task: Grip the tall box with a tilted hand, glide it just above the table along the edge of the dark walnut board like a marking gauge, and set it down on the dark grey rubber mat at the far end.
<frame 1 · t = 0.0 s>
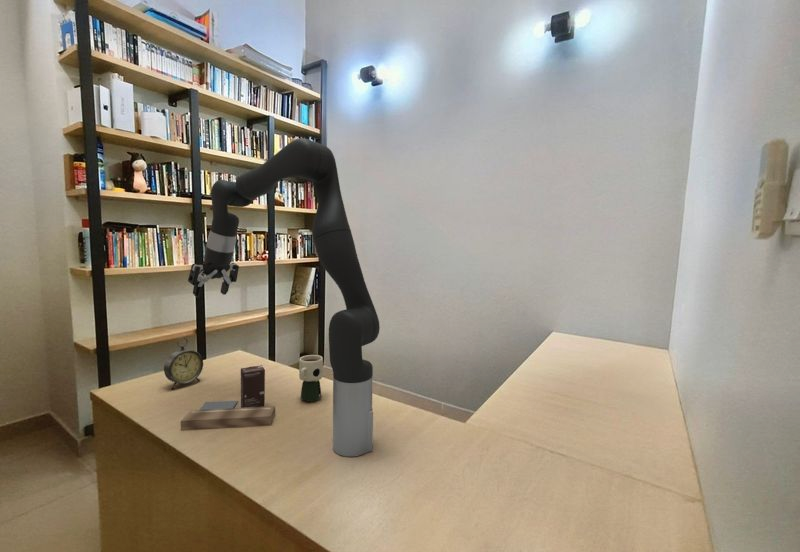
hand: (210, 294, 112), 31 cm above the worktop, tool tilted 20°, fingers open, 8 cm apart
box: (252, 409, 104), on the worktop
character mug: (311, 399, 111), on the worktop
alarm clock: (183, 385, 120), on the worktop
walnut board: (230, 422, 96), on the worktop
grey mat: (216, 409, 103), on the worktop
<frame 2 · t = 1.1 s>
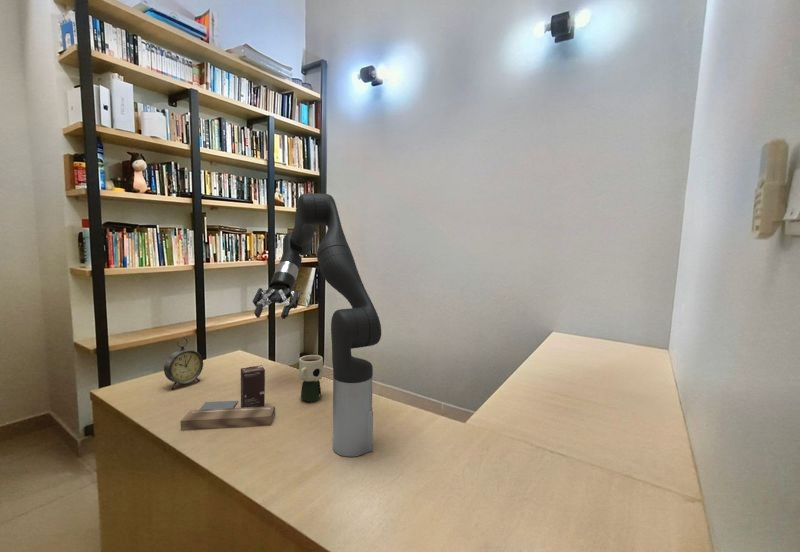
hand: (269, 317, 113), 25 cm above the worktop, tool tilted 45°, fingers open, 8 cm apart
nothing on the worktop moved.
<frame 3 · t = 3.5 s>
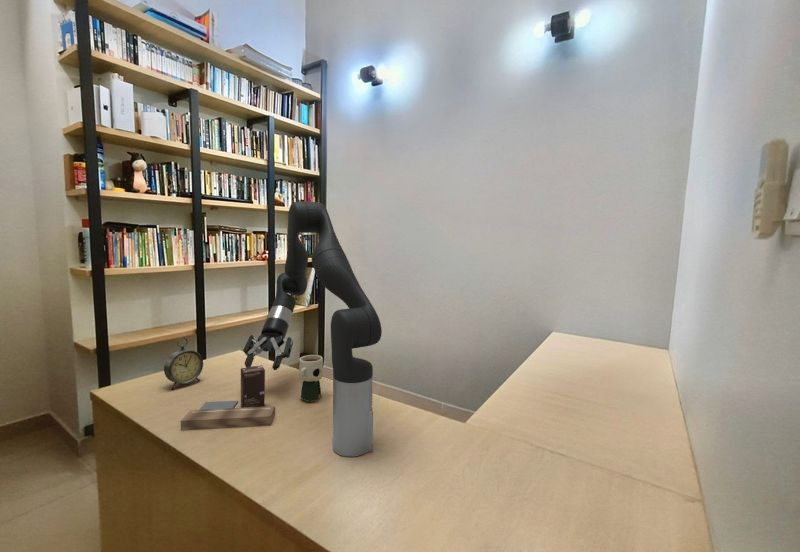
hand: (260, 368, 108), 10 cm above the worktop, tool tilted 45°, fingers open, 8 cm apart
nothing on the worktop moved.
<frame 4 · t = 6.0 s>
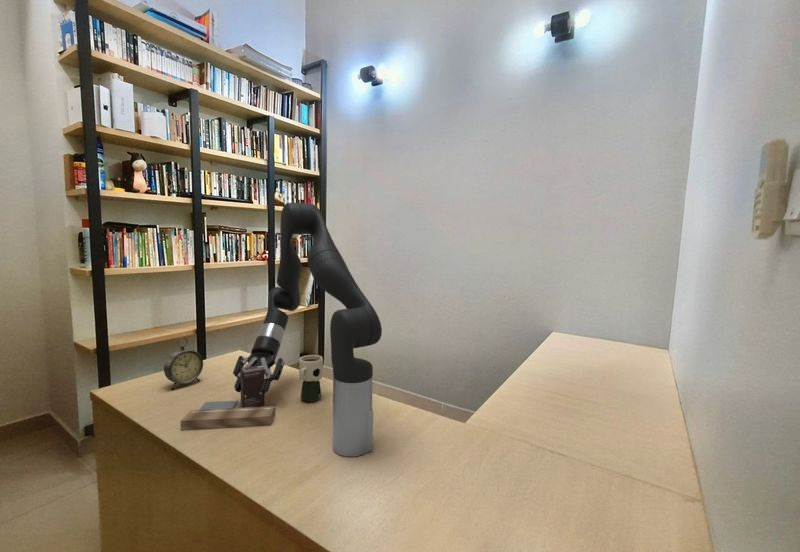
hand: (250, 391, 102), 6 cm above the worktop, tool tilted 45°, fingers closed on box, 7 cm apart
box: (252, 409, 104), on the worktop, touching gripper
everything else where it was.
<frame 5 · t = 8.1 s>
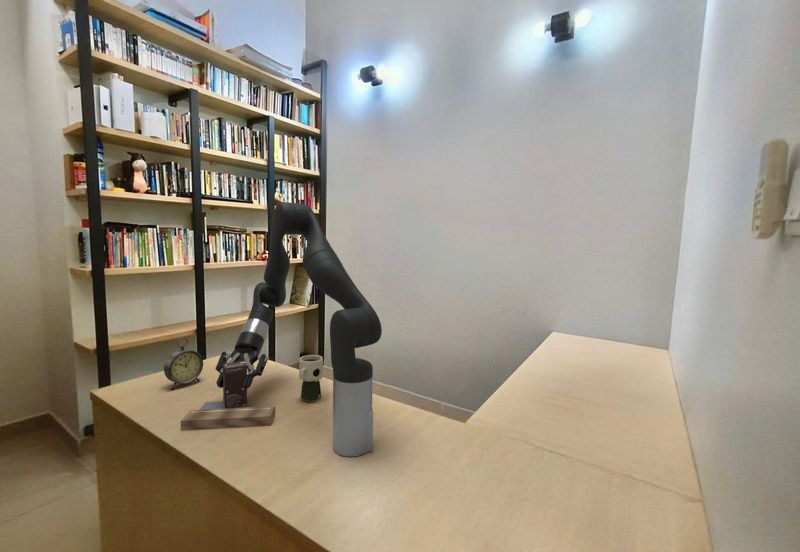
hand: (232, 387, 101), 7 cm above the worktop, tool tilted 45°, fingers closed on box, 7 cm apart
box: (235, 405, 103), point 1 cm above the worktop, touching gripper
everything else where it was.
when the fingers open (7 cm above the worktop, at t = 10.6 s): box stays where it is, resting on grey mat.
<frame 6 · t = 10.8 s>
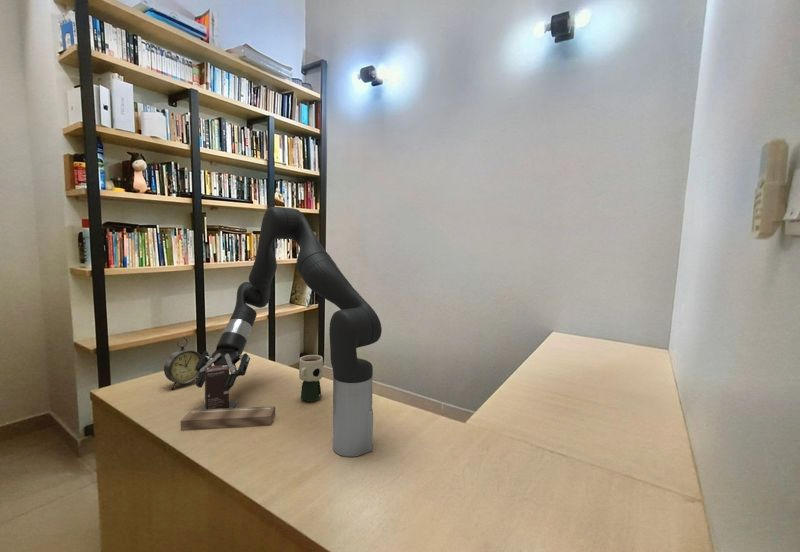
hand: (212, 387, 100), 7 cm above the worktop, tool tilted 45°, fingers open, 8 cm apart
box: (217, 409, 102), resting on grey mat
everything else where it was.
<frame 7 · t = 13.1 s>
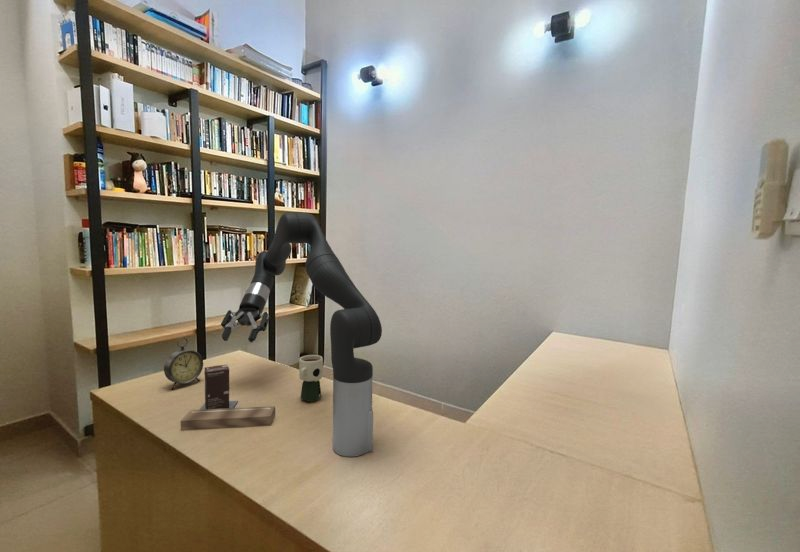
hand: (237, 340, 112), 17 cm above the worktop, tool tilted 45°, fingers open, 8 cm apart
nothing on the worktop moved.
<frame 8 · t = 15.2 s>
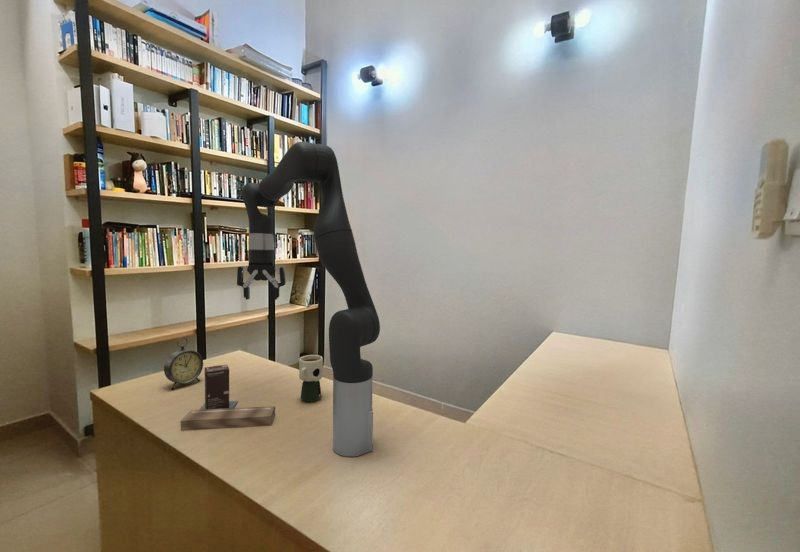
hand: (261, 299, 114), 30 cm above the worktop, tool pointing down, fingers open, 8 cm apart
nothing on the worktop moved.
at the end: box inside the target area (0.3 cm from its centre), resting on grey mat; box tilted 0°; the gripper is holding nothing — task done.
